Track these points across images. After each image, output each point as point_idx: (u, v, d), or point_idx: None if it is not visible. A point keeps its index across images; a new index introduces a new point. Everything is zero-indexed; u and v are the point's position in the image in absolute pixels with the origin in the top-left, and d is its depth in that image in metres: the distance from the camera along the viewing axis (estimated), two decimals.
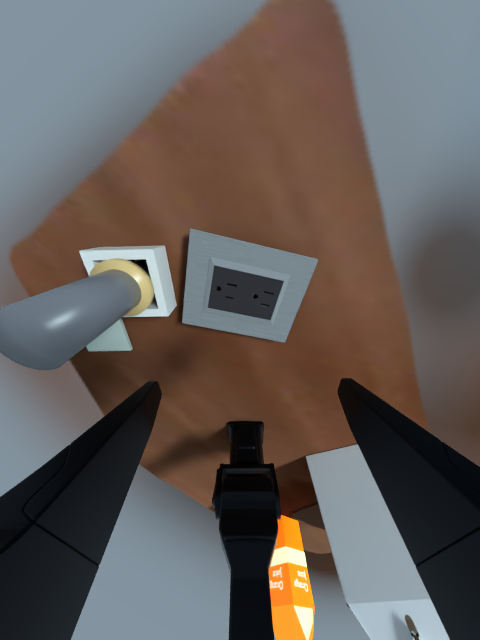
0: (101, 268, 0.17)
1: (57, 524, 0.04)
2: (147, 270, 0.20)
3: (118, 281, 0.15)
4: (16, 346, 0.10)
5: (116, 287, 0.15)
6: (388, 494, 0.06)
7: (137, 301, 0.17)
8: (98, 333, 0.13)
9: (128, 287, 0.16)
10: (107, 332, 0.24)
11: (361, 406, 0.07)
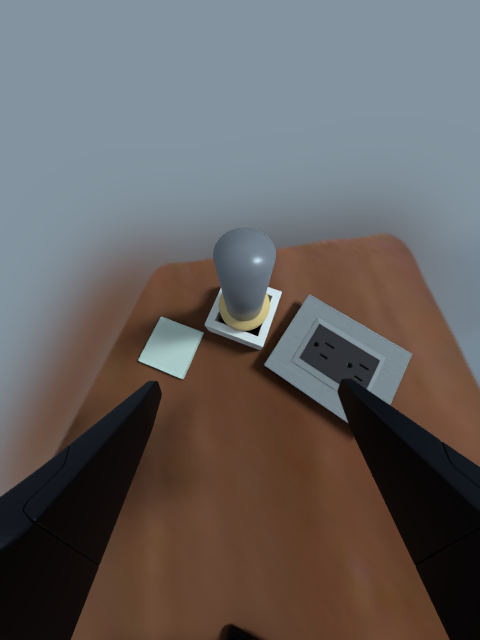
0: None
1: (57, 524, 0.04)
2: None
3: None
4: (232, 253, 0.12)
5: None
6: (388, 494, 0.06)
7: (257, 314, 0.19)
8: (259, 294, 0.14)
9: None
10: (176, 348, 0.23)
11: (361, 406, 0.07)
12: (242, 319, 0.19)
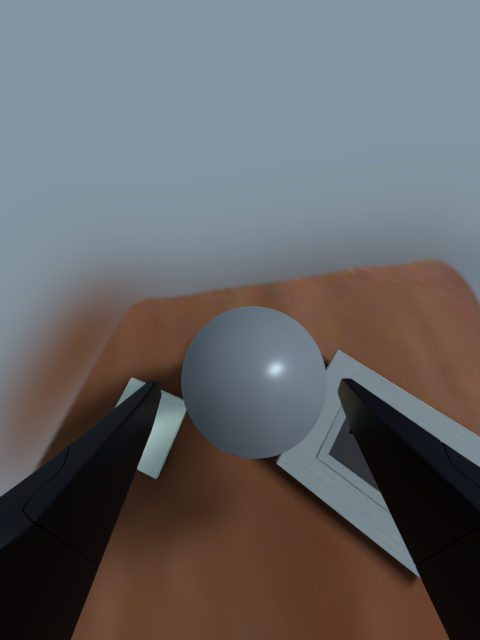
0: None
1: (57, 524, 0.04)
2: None
3: None
4: (224, 372, 0.05)
5: None
6: (388, 494, 0.06)
7: None
8: None
9: None
10: None
11: (361, 406, 0.07)
12: None
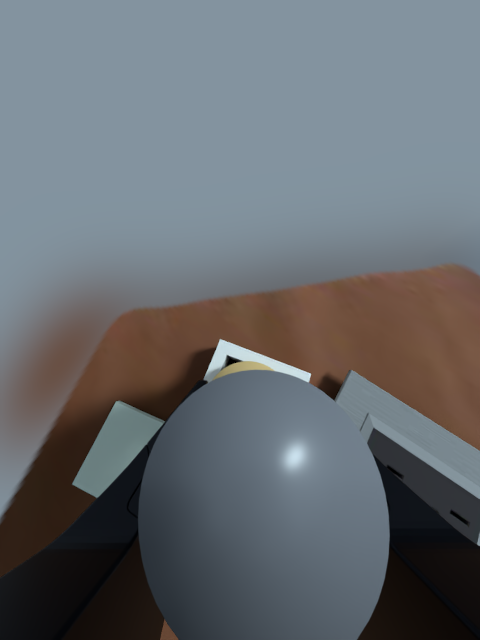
0: (244, 368, 0.12)
1: None
2: None
3: None
4: (213, 495, 0.03)
5: None
6: None
7: None
8: None
9: None
10: None
11: None
12: None
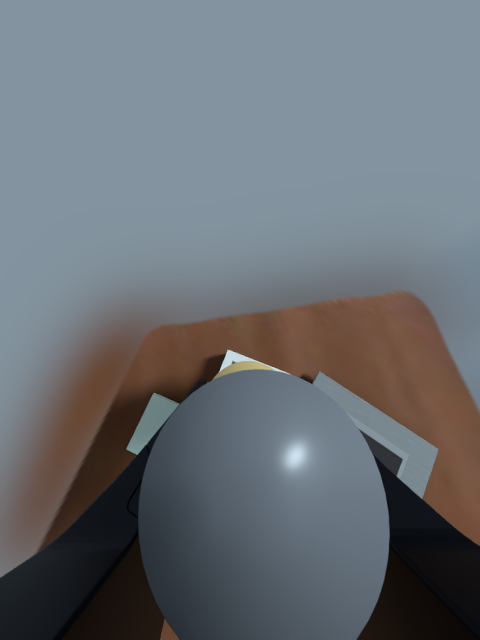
0: (244, 368, 0.12)
1: None
2: None
3: None
4: (213, 494, 0.03)
5: None
6: None
7: None
8: None
9: None
10: None
11: None
12: None
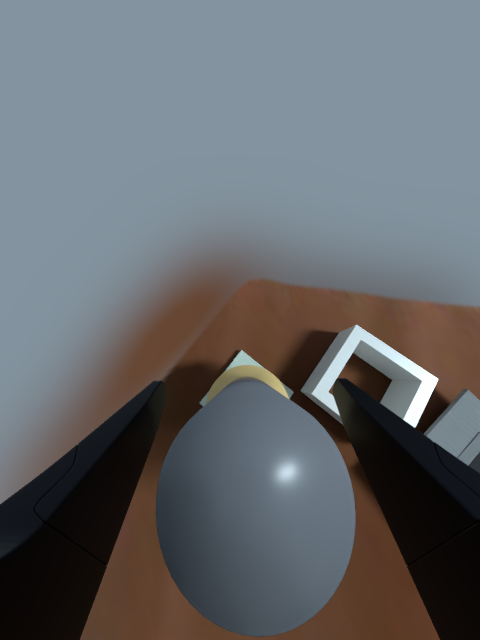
0: (244, 371, 0.13)
1: (67, 524, 0.04)
2: None
3: None
4: (215, 495, 0.04)
5: None
6: (381, 494, 0.06)
7: None
8: None
9: None
10: None
11: (355, 406, 0.07)
12: None
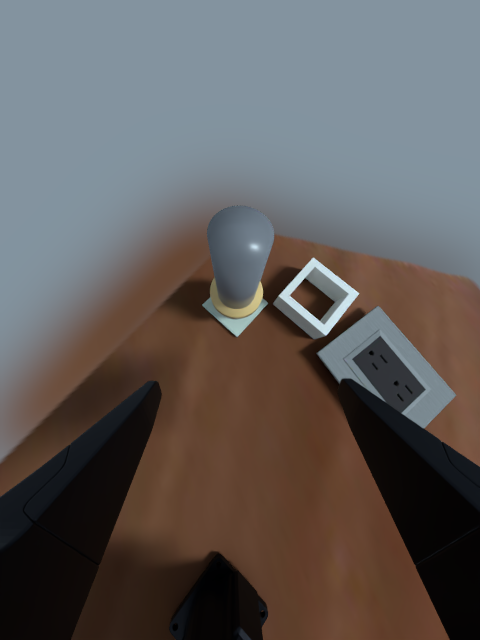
0: None
1: (57, 524, 0.04)
2: None
3: None
4: (227, 231, 0.11)
5: None
6: (388, 494, 0.06)
7: (249, 302, 0.18)
8: (252, 280, 0.13)
9: None
10: None
11: (361, 406, 0.07)
12: (233, 306, 0.18)
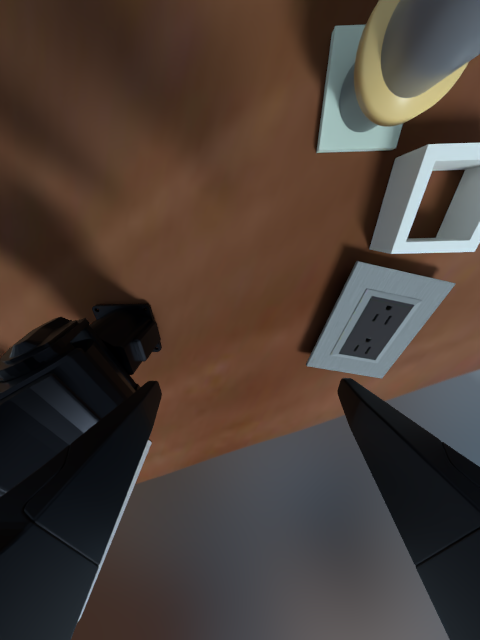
0: None
1: (57, 524, 0.04)
2: None
3: None
4: None
5: None
6: (388, 494, 0.06)
7: (412, 89, 0.09)
8: None
9: None
10: None
11: (361, 406, 0.07)
12: (392, 65, 0.09)
